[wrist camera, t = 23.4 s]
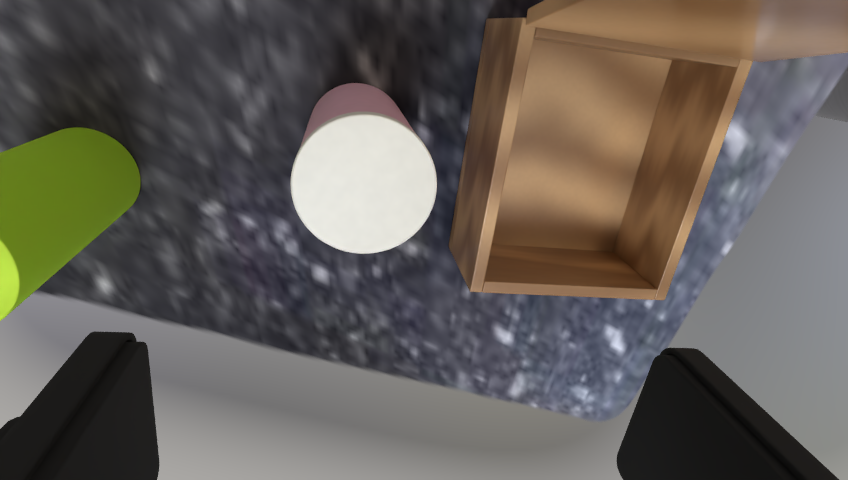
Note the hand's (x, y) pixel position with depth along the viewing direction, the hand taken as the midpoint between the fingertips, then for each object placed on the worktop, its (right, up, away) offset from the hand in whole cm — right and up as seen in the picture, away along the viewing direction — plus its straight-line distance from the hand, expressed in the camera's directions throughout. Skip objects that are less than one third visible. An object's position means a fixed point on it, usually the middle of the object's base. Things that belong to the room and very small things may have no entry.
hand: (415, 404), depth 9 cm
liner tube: (-4, +10, +23) cm, 25 cm away
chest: (+10, +9, +26) cm, 29 cm away
